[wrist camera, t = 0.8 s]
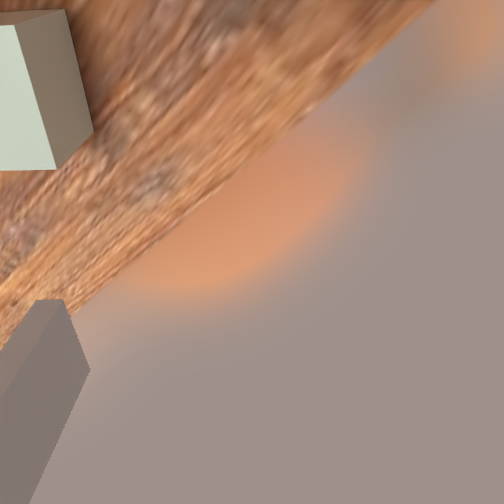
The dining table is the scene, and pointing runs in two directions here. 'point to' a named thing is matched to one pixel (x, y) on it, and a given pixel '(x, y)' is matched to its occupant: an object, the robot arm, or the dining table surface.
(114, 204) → the dining table surface
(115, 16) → the dining table surface
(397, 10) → the dining table surface
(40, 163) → the socket
